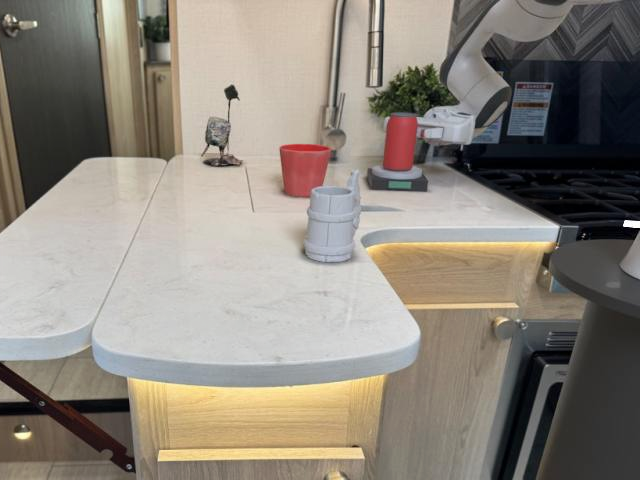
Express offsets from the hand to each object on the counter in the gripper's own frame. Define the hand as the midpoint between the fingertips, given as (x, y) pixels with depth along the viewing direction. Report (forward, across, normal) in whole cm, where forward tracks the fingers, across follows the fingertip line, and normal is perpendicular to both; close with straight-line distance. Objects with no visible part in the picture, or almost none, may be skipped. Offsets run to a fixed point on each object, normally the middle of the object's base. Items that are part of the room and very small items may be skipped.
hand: (405, 131), depth 125 cm
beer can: (+1, 0, +8) cm, 9 cm away
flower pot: (+24, -7, +12) cm, 28 cm away
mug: (+47, +23, +12) cm, 53 cm away
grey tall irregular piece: (+18, -43, +12) cm, 49 cm away
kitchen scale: (+2, 0, +12) cm, 12 cm away
